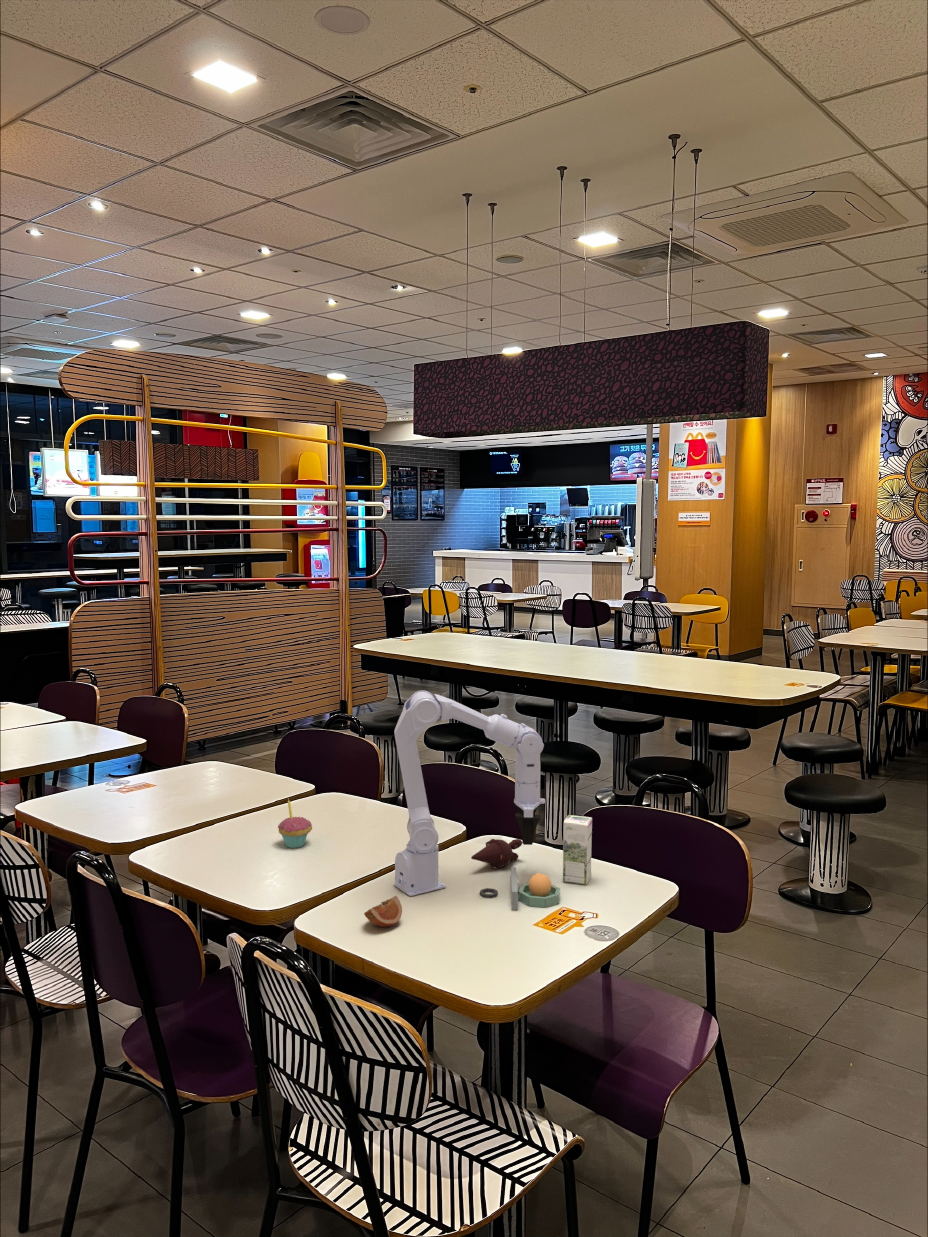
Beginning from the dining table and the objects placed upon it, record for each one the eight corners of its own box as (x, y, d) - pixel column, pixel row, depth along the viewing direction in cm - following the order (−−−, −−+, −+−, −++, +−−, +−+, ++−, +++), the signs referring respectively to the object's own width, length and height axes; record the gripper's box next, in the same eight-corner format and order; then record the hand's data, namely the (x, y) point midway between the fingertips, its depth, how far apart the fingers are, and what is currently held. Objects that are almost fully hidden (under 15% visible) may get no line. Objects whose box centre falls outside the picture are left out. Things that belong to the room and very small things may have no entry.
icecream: (484, 852, 203) (532, 844, 212) (466, 836, 209) (514, 829, 218) (477, 879, 205) (525, 870, 214) (459, 862, 211) (507, 854, 220)
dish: (535, 910, 187) (535, 901, 187) (512, 896, 194) (512, 887, 194) (567, 901, 192) (567, 892, 191) (543, 888, 199) (543, 879, 199)
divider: (517, 910, 187) (517, 891, 187) (511, 910, 187) (511, 891, 187) (516, 884, 201) (516, 867, 201) (510, 884, 201) (510, 867, 201)
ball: (537, 903, 189) (537, 881, 189) (523, 894, 194) (524, 872, 193) (555, 898, 192) (556, 876, 191) (542, 889, 196) (542, 868, 196)
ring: (486, 899, 193) (486, 896, 193) (476, 893, 196) (476, 890, 196) (501, 895, 195) (501, 892, 195) (491, 889, 198) (491, 887, 198)
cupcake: (271, 847, 224) (271, 801, 223) (290, 837, 232) (289, 792, 231) (300, 852, 221) (300, 805, 220) (318, 841, 229) (318, 796, 228)
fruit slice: (380, 937, 175) (380, 912, 174) (356, 927, 179) (355, 904, 178) (408, 922, 181) (408, 899, 181) (384, 914, 185) (384, 891, 185)
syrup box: (591, 876, 206) (592, 816, 204) (586, 886, 200) (587, 824, 199) (567, 873, 208) (568, 813, 206) (562, 883, 202) (562, 821, 201)
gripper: (546, 789, 194) (546, 849, 195) (543, 772, 208) (543, 828, 210) (514, 789, 194) (514, 849, 195) (513, 772, 209) (513, 828, 210)
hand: (527, 838), depth 203 cm, fingers open, 7 cm apart
